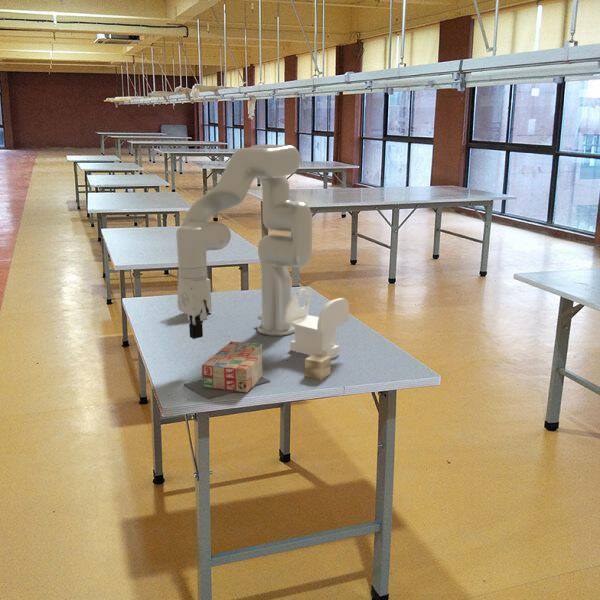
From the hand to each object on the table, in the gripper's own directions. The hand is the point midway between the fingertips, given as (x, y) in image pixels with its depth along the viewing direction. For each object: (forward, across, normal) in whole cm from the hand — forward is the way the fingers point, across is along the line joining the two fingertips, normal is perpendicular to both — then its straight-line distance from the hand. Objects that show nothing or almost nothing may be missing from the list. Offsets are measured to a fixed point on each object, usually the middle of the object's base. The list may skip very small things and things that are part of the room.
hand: (196, 337), depth 188 cm
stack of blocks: (+6, +8, +1) cm, 10 cm away
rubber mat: (+9, +15, 0) cm, 18 cm away
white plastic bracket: (+10, +10, +34) cm, 37 cm away
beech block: (+9, +25, +22) cm, 35 cm away
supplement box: (+10, -50, +29) cm, 59 cm away
